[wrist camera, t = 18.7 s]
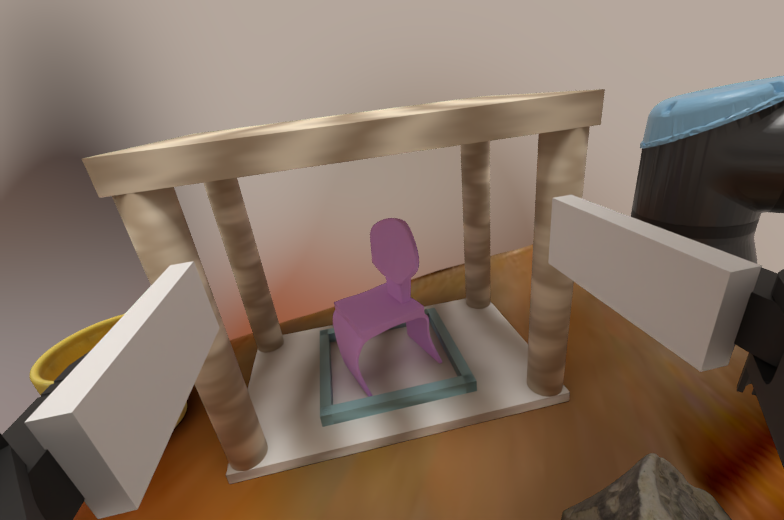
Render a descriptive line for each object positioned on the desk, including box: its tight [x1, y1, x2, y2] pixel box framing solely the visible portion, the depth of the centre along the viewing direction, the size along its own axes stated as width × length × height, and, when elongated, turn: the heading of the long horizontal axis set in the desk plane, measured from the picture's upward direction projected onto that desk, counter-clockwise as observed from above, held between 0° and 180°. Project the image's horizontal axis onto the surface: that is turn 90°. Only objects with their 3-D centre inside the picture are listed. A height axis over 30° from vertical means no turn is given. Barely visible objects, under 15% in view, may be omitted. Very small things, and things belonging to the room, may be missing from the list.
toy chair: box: [333, 218, 442, 397], centre depth 34 cm, size 8×9×15 cm
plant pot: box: [30, 314, 187, 427], centre depth 33 cm, size 10×10×10 cm
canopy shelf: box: [82, 89, 605, 484], centre depth 33 cm, size 29×18×25 cm, turn 101°
